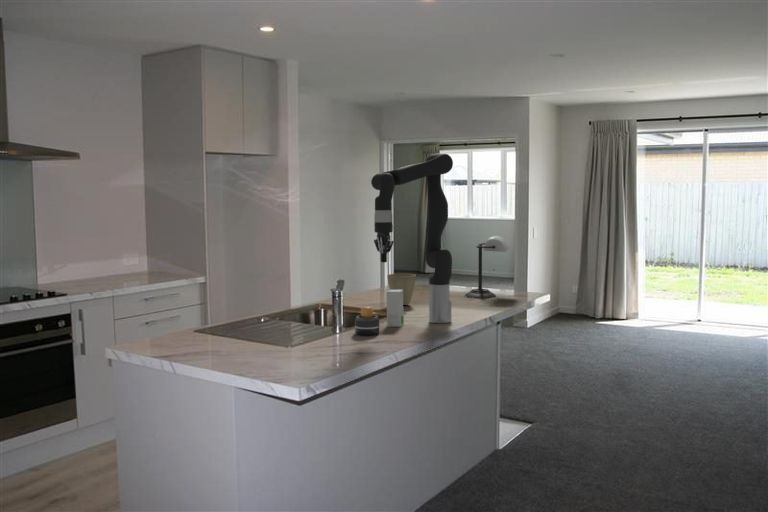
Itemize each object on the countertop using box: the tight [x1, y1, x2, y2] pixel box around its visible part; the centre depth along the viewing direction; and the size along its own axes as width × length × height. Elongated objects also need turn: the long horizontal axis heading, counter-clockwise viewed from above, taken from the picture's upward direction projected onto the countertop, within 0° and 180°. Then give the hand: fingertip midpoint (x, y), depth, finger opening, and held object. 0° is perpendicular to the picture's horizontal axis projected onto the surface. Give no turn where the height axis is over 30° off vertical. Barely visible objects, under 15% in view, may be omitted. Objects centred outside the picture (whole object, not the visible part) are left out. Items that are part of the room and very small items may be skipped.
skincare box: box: [385, 289, 405, 328], centre depth 289 cm, size 8×7×16 cm
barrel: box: [354, 314, 380, 337], centre depth 272 cm, size 10×10×7 cm
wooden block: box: [360, 306, 374, 318], centre depth 272 cm, size 5×6×5 cm
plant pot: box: [387, 273, 417, 306], centre depth 343 cm, size 15×15×16 cm
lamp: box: [464, 235, 510, 299], centre depth 370 cm, size 26×24×34 cm
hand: (383, 262), depth 278 cm, fingers closed
